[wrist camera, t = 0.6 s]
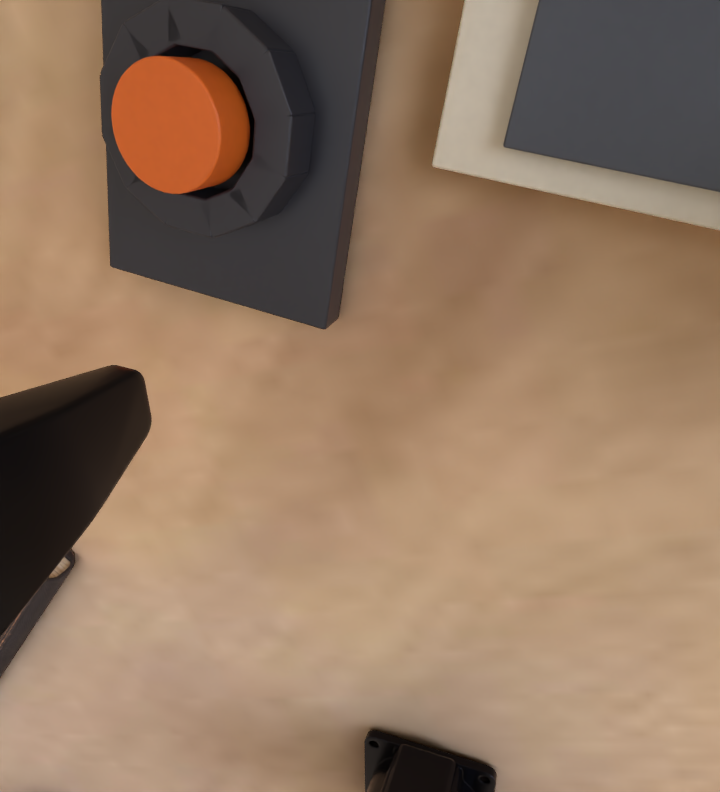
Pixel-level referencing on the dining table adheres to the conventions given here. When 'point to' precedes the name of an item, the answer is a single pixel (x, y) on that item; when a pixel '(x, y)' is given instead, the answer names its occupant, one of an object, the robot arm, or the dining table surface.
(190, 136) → the button
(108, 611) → the dining table surface
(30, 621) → the hardcover book
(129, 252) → the button pad
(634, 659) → the dining table surface
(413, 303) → the dining table surface
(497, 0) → the coffee machine
